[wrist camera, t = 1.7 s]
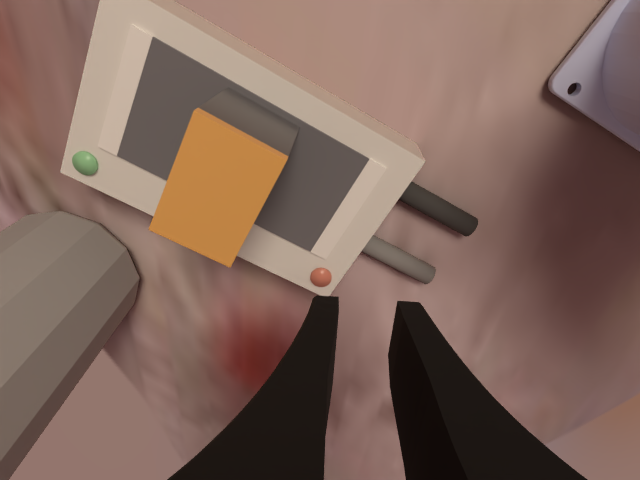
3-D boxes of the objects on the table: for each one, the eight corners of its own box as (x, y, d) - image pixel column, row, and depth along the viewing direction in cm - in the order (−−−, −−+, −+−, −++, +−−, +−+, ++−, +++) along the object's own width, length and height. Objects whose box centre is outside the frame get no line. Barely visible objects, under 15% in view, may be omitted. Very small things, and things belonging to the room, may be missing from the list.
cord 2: (474, 214, 20) (480, 223, 19) (461, 230, 20) (466, 239, 20) (388, 165, 19) (390, 173, 18) (376, 183, 19) (378, 191, 19)
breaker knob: (299, 127, 16) (286, 160, 12) (252, 218, 18) (230, 267, 14) (227, 87, 15) (193, 110, 12) (187, 185, 17) (148, 229, 14)
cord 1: (433, 263, 22) (437, 274, 21) (422, 276, 22) (425, 287, 21) (351, 220, 21) (352, 229, 20) (341, 235, 21) (341, 245, 20)
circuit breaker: (416, 143, 18) (426, 162, 16) (329, 270, 22) (327, 300, 20) (138, -21, 16) (103, -25, 14) (92, 153, 20) (57, 173, 17)
